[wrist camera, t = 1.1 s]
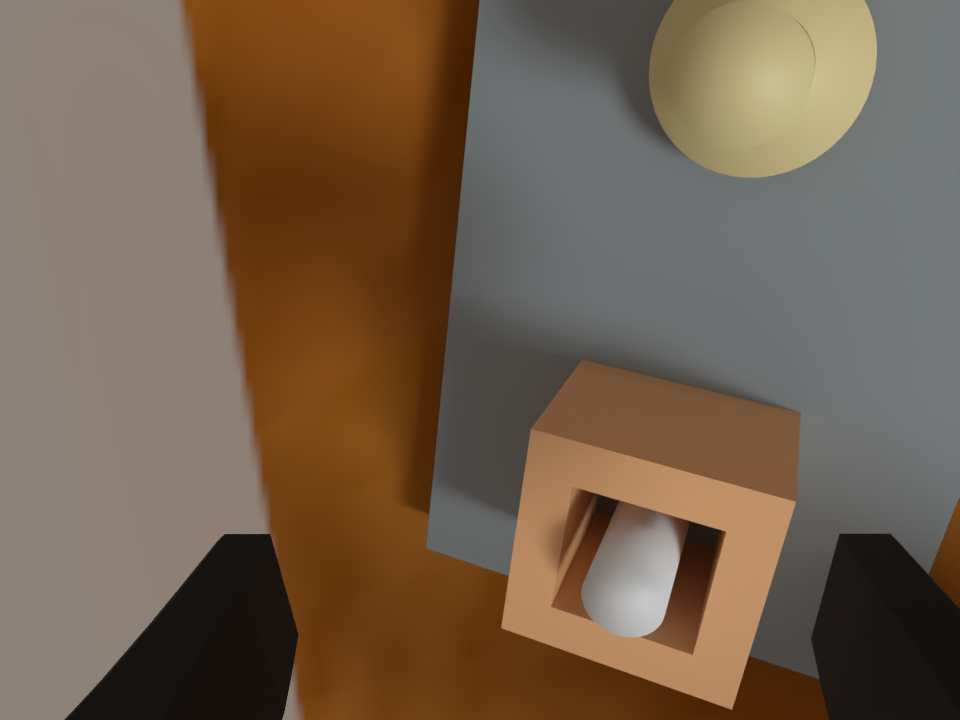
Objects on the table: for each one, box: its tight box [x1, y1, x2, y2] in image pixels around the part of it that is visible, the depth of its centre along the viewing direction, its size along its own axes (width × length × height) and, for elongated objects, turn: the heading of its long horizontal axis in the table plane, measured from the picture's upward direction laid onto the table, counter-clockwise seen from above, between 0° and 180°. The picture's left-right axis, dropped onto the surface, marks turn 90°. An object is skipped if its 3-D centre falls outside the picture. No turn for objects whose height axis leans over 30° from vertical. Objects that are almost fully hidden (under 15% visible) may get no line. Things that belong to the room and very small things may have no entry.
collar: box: [501, 360, 801, 710], centre depth 18 cm, size 5×5×4 cm
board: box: [426, 0, 960, 680], centre depth 17 cm, size 18×12×6 cm, turn 173°
